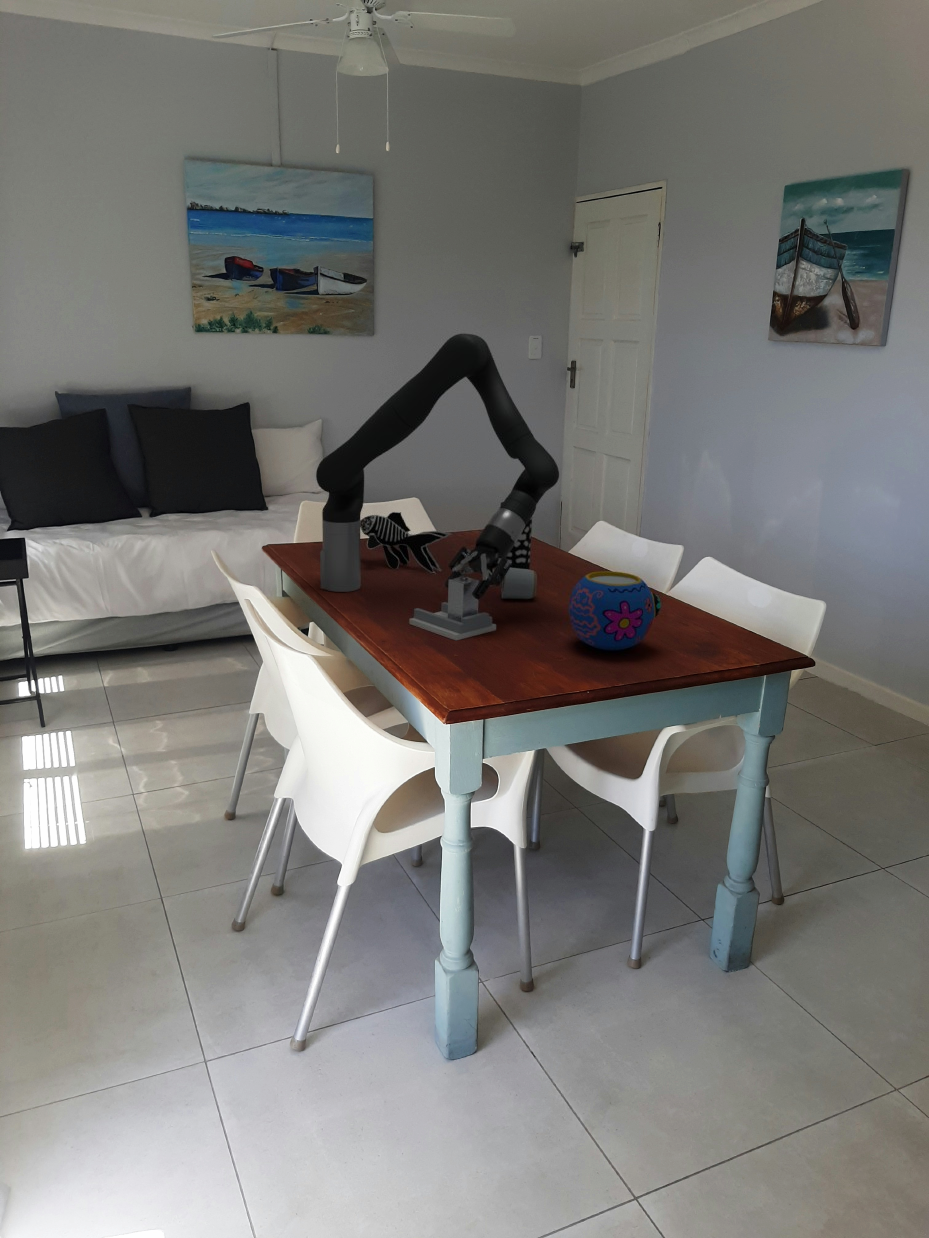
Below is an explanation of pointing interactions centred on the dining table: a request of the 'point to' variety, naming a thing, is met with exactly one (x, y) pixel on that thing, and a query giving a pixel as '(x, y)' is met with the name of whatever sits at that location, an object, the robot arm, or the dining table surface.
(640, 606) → the ceramic pot
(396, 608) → the dining table surface
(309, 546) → the dining table surface
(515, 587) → the ceramic mug
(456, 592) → the aluminium block
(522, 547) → the spotted tube
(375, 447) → the robot arm
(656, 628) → the dining table surface
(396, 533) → the decorative fish
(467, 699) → the dining table surface
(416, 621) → the grey open box
